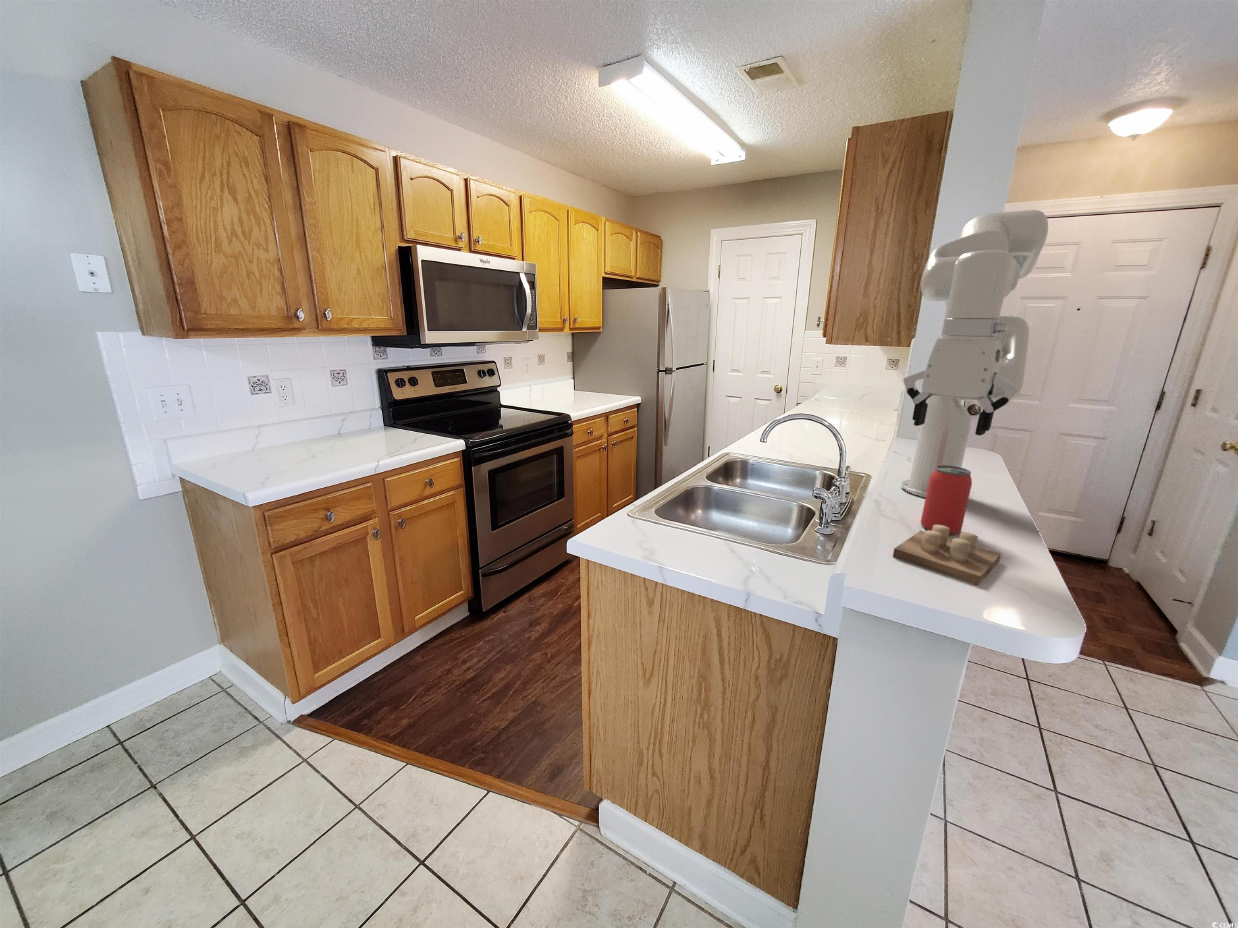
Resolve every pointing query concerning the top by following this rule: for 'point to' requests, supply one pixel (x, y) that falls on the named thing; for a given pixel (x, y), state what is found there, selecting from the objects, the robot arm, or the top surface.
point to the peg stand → (948, 554)
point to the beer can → (947, 498)
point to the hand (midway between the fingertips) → (948, 429)
